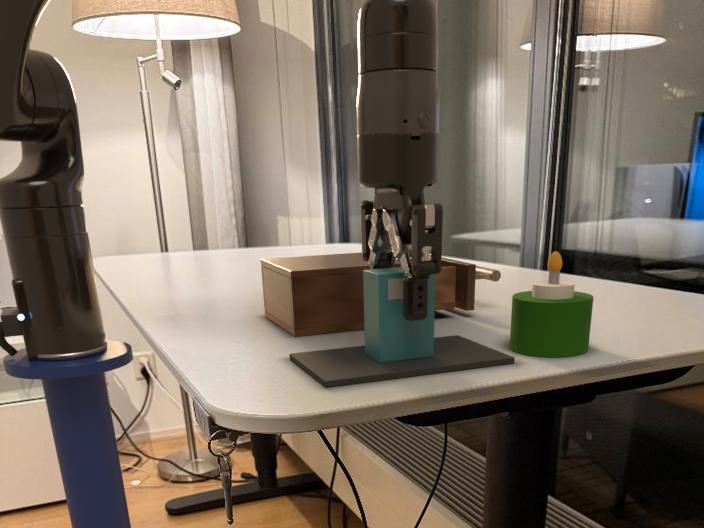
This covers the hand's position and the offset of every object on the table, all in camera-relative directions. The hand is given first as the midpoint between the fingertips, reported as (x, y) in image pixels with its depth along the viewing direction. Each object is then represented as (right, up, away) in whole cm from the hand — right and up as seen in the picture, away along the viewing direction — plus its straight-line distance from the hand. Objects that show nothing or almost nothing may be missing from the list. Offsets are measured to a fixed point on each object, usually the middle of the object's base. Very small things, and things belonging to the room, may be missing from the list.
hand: (398, 312), depth 72 cm
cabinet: (-8, +4, +23) cm, 25 cm away
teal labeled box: (0, -4, +2) cm, 4 cm away
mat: (0, -5, +2) cm, 5 cm away
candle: (+16, -3, +6) cm, 18 cm away
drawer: (+5, +7, +27) cm, 28 cm away
